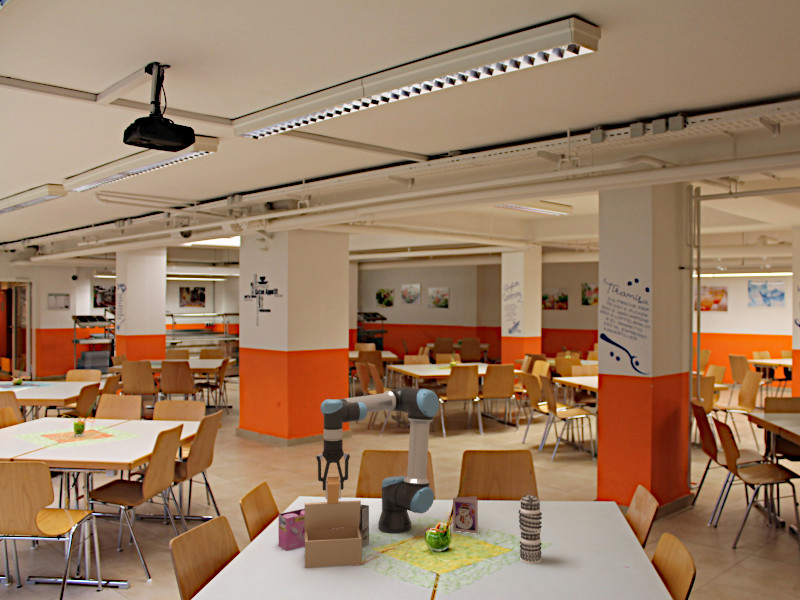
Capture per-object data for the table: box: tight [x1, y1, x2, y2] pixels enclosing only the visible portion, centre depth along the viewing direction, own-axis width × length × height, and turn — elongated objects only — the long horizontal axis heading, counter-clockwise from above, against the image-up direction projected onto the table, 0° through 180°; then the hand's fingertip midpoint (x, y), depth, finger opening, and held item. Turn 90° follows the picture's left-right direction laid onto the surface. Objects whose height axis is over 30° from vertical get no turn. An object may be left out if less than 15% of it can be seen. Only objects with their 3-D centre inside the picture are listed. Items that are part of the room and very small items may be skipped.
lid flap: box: [304, 476, 362, 530], centre depth 257 cm, size 22×25×4 cm
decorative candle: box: [518, 494, 543, 565], centre depth 254 cm, size 9×9×25 cm
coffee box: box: [350, 504, 370, 548], centre depth 272 cm, size 9×6×16 cm
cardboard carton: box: [304, 527, 363, 569], centre depth 255 cm, size 22×14×10 cm, turn 99°
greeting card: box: [452, 495, 479, 534], centre depth 289 cm, size 11×7×15 cm, turn 68°
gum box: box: [278, 508, 333, 551], centre depth 275 cm, size 24×8×14 cm, turn 128°
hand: (333, 497), depth 253 cm, fingers closed on lid flap, 4 cm apart
